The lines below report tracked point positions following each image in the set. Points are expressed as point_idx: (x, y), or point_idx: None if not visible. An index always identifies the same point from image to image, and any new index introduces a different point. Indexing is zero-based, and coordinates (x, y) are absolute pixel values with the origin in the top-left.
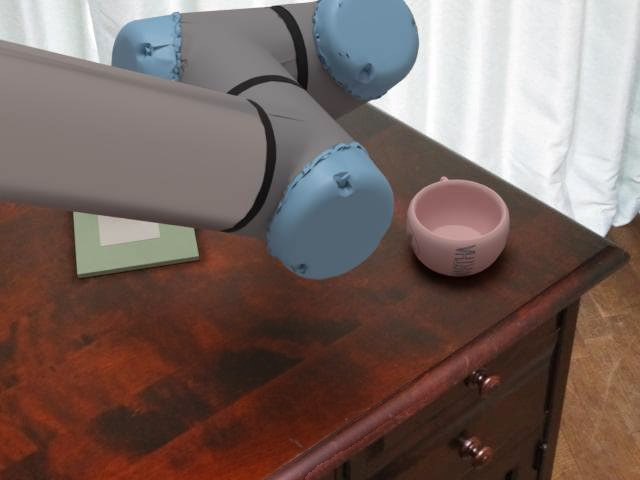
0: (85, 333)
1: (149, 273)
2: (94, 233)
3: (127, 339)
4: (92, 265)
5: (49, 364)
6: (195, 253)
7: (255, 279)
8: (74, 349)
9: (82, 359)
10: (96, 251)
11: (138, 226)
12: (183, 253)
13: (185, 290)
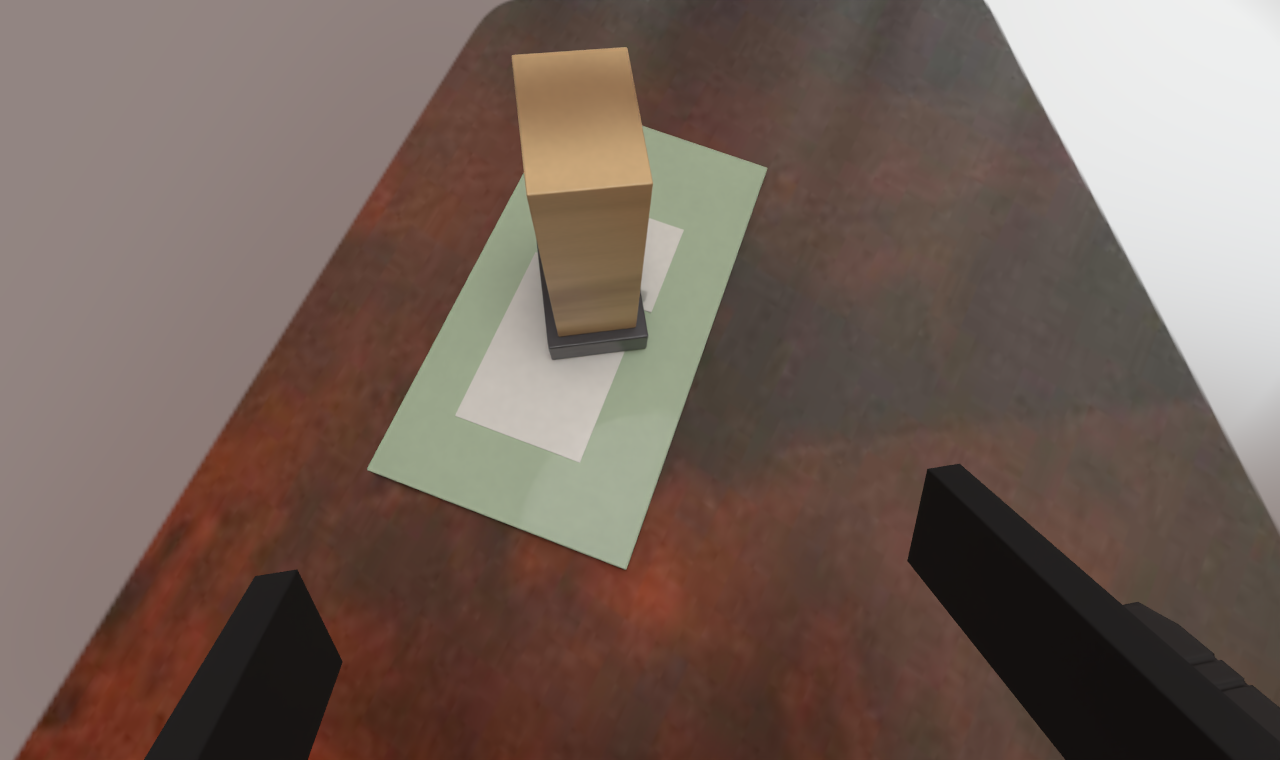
0: None
1: (509, 544)
2: (467, 368)
3: (352, 732)
4: (408, 462)
5: (162, 705)
6: (623, 557)
7: (708, 711)
8: None
9: None
10: (439, 425)
11: (556, 402)
12: (599, 542)
13: (550, 648)
